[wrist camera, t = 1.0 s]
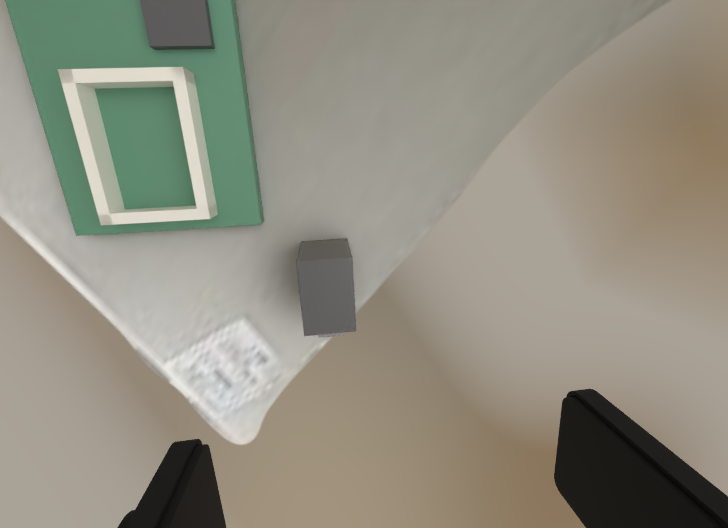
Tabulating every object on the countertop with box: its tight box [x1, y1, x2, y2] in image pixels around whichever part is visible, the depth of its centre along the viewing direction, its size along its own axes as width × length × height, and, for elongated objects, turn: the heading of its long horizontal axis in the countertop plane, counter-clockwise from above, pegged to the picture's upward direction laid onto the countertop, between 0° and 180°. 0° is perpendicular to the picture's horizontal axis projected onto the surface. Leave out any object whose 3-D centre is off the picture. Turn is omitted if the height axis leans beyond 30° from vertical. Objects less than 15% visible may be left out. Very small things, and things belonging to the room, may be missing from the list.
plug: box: [296, 239, 356, 337], centre depth 29 cm, size 7×4×6 cm, turn 2°
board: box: [5, 0, 264, 236], centre depth 24 cm, size 18×14×4 cm
